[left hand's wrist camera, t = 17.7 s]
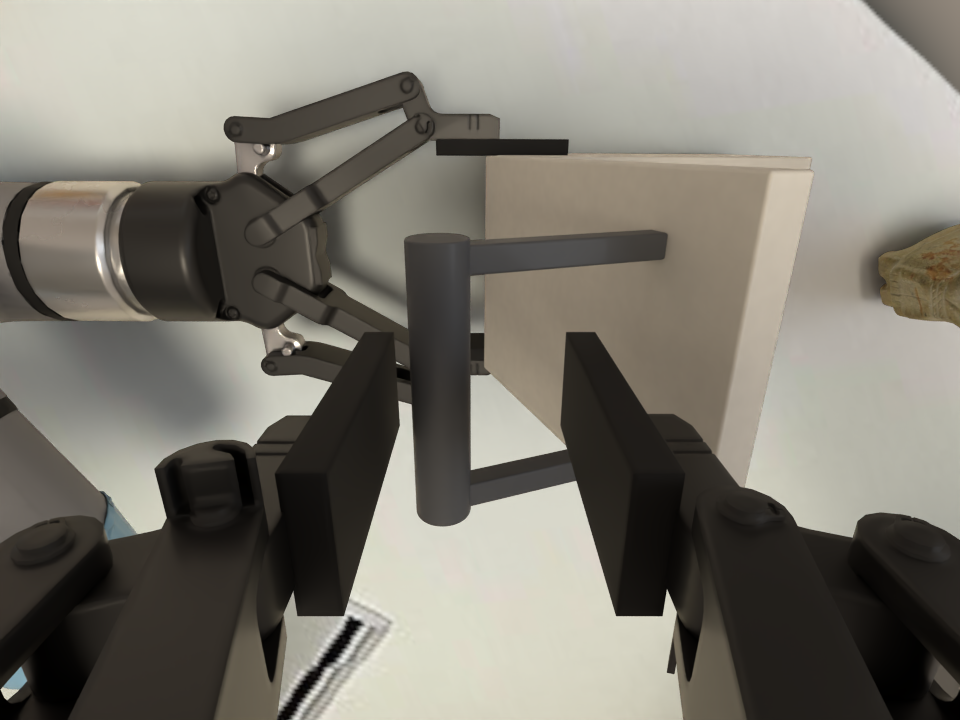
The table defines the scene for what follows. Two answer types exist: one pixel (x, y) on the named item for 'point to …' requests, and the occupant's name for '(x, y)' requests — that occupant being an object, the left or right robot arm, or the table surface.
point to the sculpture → (924, 278)
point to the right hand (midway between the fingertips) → (558, 253)
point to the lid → (601, 306)
